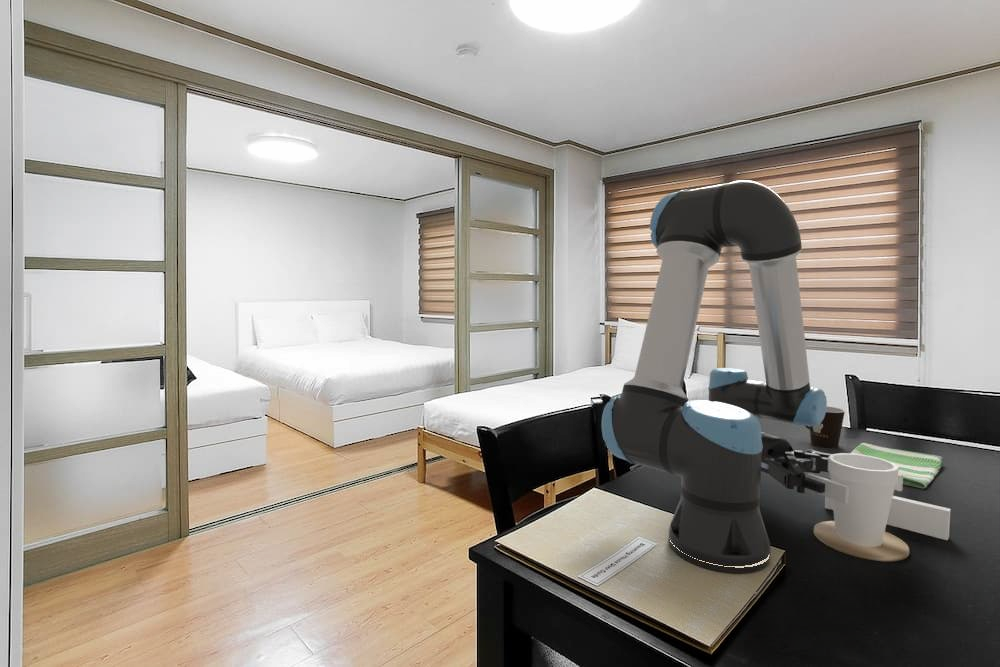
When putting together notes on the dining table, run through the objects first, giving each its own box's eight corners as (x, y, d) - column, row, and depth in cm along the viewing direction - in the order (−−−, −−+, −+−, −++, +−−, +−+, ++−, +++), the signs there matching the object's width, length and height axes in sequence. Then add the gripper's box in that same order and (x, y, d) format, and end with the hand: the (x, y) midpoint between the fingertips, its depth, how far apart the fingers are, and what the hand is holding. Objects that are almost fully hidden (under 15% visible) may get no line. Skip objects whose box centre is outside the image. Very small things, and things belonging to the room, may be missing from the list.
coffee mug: (850, 449, 137) (852, 412, 136) (818, 449, 137) (819, 412, 136) (823, 437, 148) (825, 403, 147) (793, 437, 148) (795, 403, 148)
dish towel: (830, 469, 122) (830, 458, 121) (859, 450, 137) (859, 440, 137) (925, 491, 108) (926, 478, 108) (946, 467, 123) (946, 456, 123)
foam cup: (833, 520, 92) (836, 449, 91) (898, 537, 85) (902, 461, 84) (819, 537, 85) (822, 461, 84) (887, 557, 78) (892, 475, 77)
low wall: (947, 540, 85) (949, 511, 85) (824, 507, 98) (825, 482, 98) (948, 537, 86) (950, 508, 86) (827, 505, 100) (828, 480, 99)
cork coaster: (900, 570, 76) (900, 566, 76) (803, 540, 85) (803, 536, 85) (915, 542, 85) (916, 538, 85) (826, 517, 94) (826, 514, 94)
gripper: (806, 462, 107) (920, 499, 88) (715, 478, 98) (821, 524, 78) (807, 427, 107) (923, 457, 87) (716, 440, 97) (823, 476, 78)
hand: (875, 489), depth 83 cm, fingers open, 13 cm apart
